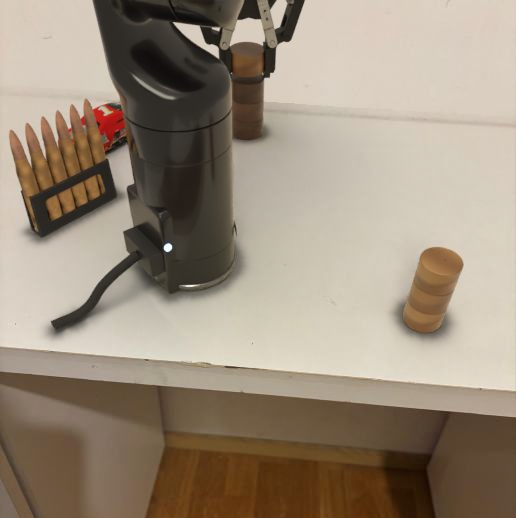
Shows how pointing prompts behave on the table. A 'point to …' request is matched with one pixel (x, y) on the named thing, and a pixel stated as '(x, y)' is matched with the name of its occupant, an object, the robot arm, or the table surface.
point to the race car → (108, 125)
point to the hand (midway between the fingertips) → (247, 75)
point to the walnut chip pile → (247, 106)
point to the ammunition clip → (63, 171)
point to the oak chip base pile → (432, 289)
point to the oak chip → (247, 59)
